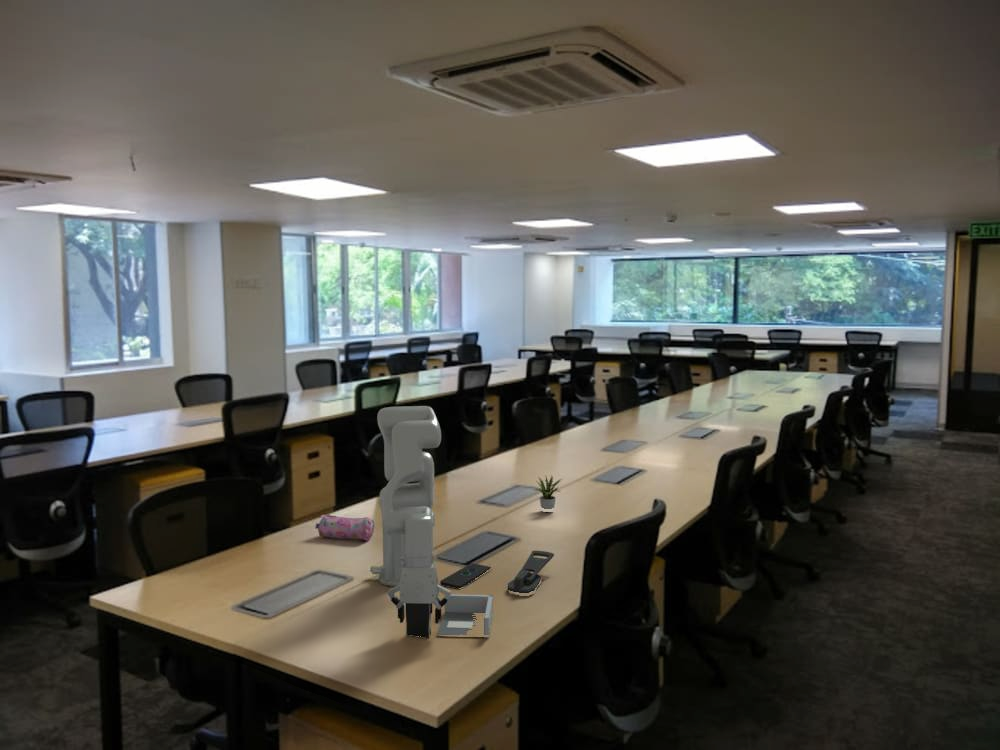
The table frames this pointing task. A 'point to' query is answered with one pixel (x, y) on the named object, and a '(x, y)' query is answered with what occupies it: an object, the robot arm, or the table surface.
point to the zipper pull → (525, 578)
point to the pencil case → (345, 527)
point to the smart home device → (464, 575)
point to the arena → (465, 613)
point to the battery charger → (418, 619)
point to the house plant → (547, 493)
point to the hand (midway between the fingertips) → (419, 621)
